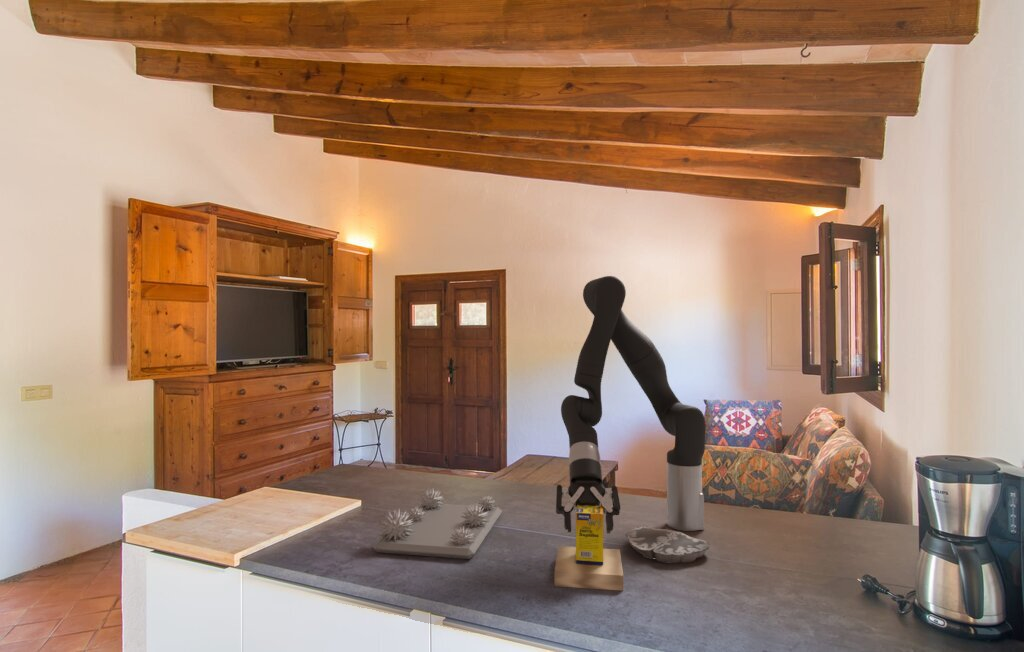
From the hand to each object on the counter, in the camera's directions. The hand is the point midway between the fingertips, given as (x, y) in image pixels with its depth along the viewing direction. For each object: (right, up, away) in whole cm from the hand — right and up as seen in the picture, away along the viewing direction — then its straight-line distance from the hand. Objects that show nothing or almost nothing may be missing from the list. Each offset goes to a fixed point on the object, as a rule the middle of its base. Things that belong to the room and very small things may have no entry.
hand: (589, 531), depth 116 cm
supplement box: (0, -7, +1) cm, 7 cm away
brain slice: (+20, -11, +13) cm, 26 cm away
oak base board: (0, -10, +1) cm, 10 cm away
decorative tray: (-35, -11, +26) cm, 46 cm away
